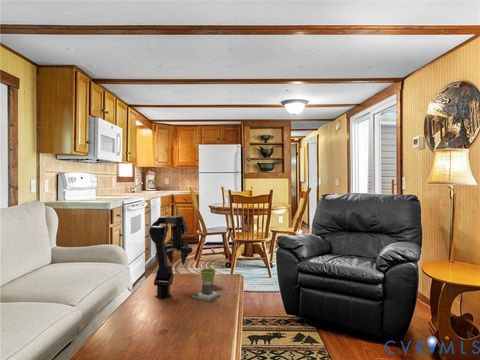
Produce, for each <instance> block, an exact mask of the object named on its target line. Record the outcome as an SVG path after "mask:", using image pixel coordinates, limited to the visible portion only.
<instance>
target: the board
mask: <svg viewBox="0 0 480 360" xmlns="http://www.w3.org/2000/svg"><path fill="white" fill-rule="evenodd" d="M218 297H220V293H218V292H217V291H213V293H212V294H210V295H205V294H202V290H200V291H199V292H196V293H194V294H193V295H191V298H192V299H196V300H200V301H205V302H211V301H212V300H214V299H216V298H218Z"/></svg>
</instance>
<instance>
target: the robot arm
mask: <svg viewBox="0 0 480 360" xmlns="http://www.w3.org/2000/svg"><path fill="white" fill-rule="evenodd" d="M161 225H165V226H161ZM169 225H170V226H172V227H171V228H169ZM170 229H171V231H172V232H171V239H170V242H172V244H165V242H166V241H165V240H166V238H167V236H168V235H167V234H168V231H169V230H170ZM188 231H189V229H188V227H187V224H186V221H185V218H184V216H183V215H171V216H159V217H158V218H157V220H156V221H154V222H153V223H152V224H151V225H150V228H149V231H148V234H149V236H150V240H151V241H152V242H153V243H154V245H155V252H156V256H157V257H156V258H157V264H158V268H157V270H156V275H155V278H154V281H153V285H154V286H156V287H157V289H156V290H157V291H156V295H154V297H155V298H159V299H167V298H169V297H171V296H172V295H173V294H171V285H173V281H174V271H173V266H172V265H170V264H171V263H173V253H174V251H177V252H180V259H181V264H182V265H183V266H184V265H185V262H186V259H187V257H188V255H190V254H191V253H193V248H192V247H191V246H189V241H185V239H184V238H183V235H186V234H188ZM168 262H169V263H170V264H168Z"/></svg>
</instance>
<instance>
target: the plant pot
mask: <svg viewBox="0 0 480 360" xmlns="http://www.w3.org/2000/svg"><path fill="white" fill-rule="evenodd" d="M199 272H200V275H201V280H202V284H204V283H206V282H210V283H212V284H213V285H214V281H215V274H216V272H217V269H215V268H203V269H200V270H199Z"/></svg>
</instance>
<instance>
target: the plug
mask: <svg viewBox="0 0 480 360" xmlns="http://www.w3.org/2000/svg"><path fill="white" fill-rule="evenodd" d="M213 286H214V283H213V284H212V283H210V282H206V283H204V284H203V283H202V284H201V291H202V294H205V295H210V294H212V293H213V292H214V289H213Z"/></svg>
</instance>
